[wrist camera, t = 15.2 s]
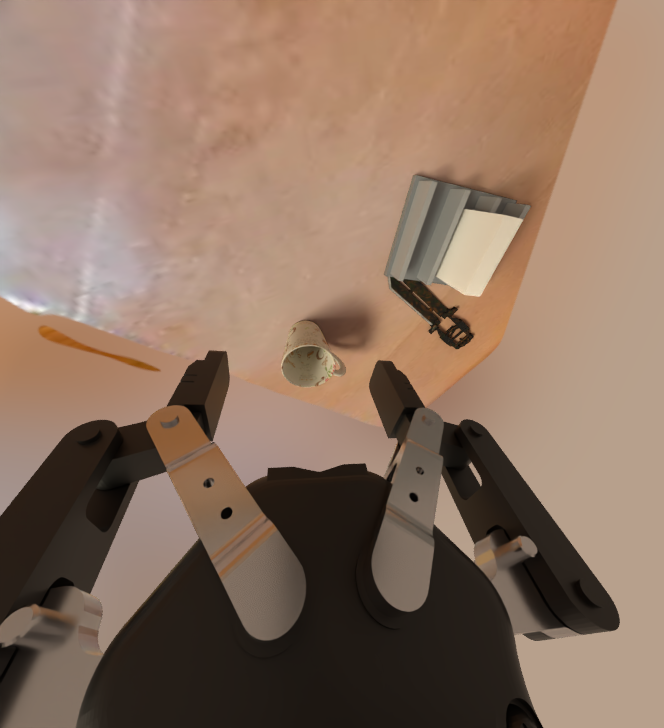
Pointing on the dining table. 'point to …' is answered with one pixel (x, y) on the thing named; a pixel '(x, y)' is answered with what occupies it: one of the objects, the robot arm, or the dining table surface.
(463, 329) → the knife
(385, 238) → the dining table surface
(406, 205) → the dish rack
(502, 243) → the cream rectangular block
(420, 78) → the dining table surface
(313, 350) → the mug
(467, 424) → the robot arm
